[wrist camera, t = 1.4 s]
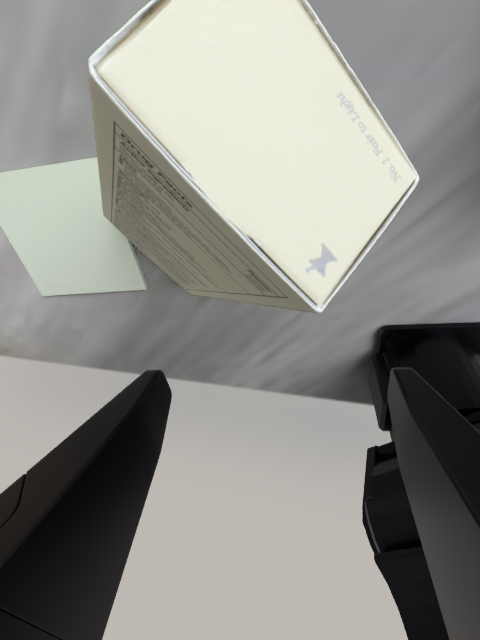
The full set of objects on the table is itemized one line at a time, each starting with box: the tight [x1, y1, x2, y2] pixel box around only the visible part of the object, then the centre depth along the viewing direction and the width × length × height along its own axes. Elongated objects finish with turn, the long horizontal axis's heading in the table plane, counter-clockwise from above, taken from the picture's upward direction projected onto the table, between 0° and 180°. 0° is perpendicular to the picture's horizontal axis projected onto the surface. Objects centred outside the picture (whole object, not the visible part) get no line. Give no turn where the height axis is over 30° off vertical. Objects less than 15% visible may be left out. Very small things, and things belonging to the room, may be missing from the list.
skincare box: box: [88, 0, 419, 313], centre depth 12 cm, size 6×4×12 cm
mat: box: [0, 157, 148, 296], centre depth 20 cm, size 8×8×1 cm
